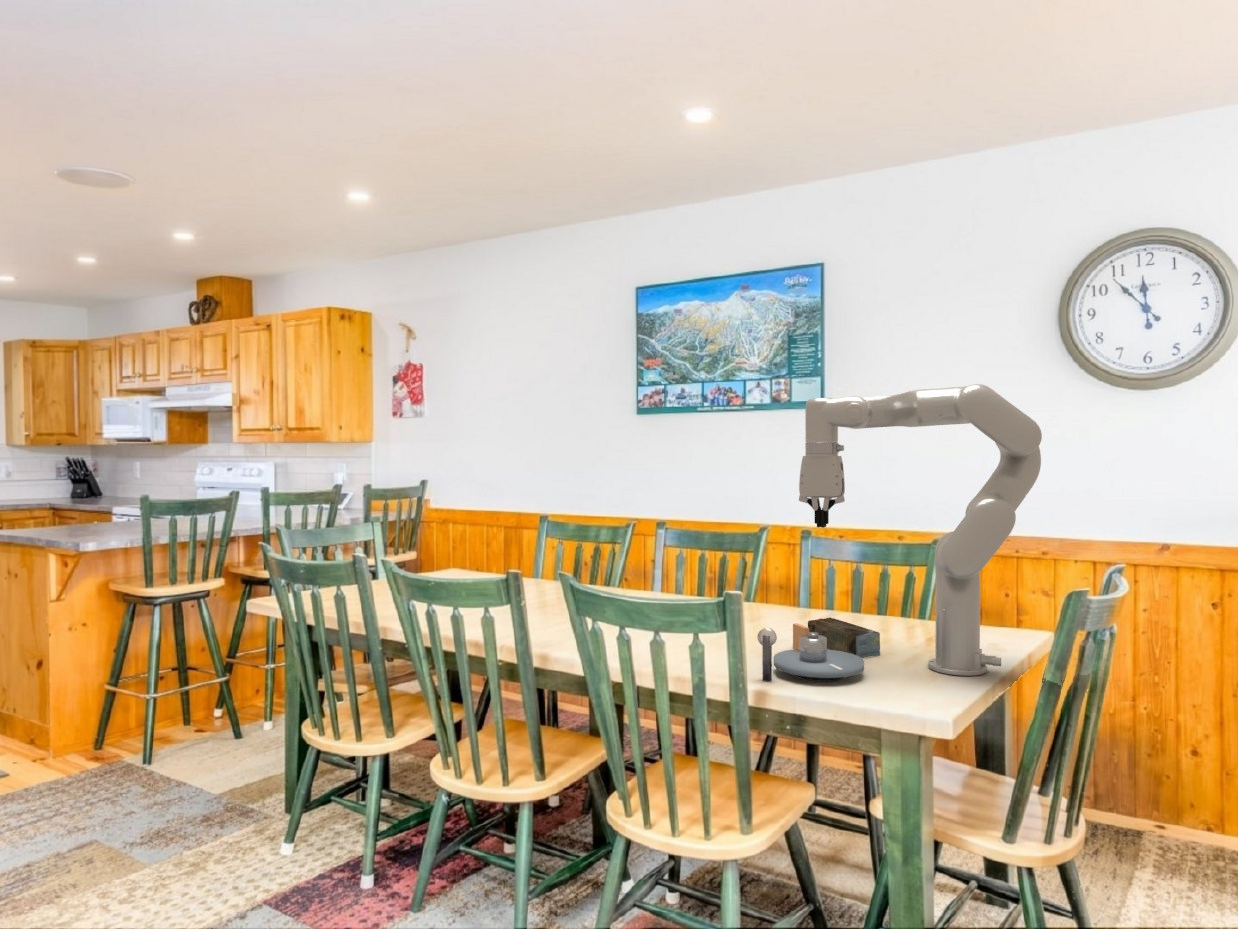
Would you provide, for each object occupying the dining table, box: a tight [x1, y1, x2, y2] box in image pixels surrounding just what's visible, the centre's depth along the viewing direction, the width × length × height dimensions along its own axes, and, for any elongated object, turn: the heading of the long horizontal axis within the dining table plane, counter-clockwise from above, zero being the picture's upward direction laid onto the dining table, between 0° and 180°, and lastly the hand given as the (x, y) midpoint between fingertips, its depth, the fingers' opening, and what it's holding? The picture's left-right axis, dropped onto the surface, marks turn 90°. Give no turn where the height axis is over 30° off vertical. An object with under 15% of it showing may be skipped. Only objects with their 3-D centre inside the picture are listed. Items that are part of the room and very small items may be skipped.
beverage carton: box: [807, 617, 881, 659], centre depth 219 cm, size 8×19×7 cm, turn 26°
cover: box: [799, 632, 827, 663], centre depth 195 cm, size 6×6×6 cm
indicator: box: [757, 627, 778, 682], centre depth 190 cm, size 4×2×12 cm, turn 64°
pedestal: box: [792, 674, 845, 682], centre depth 195 cm, size 12×12×2 cm
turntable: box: [772, 623, 865, 678], centre depth 196 cm, size 20×20×8 cm
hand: (821, 526), depth 206 cm, fingers closed
